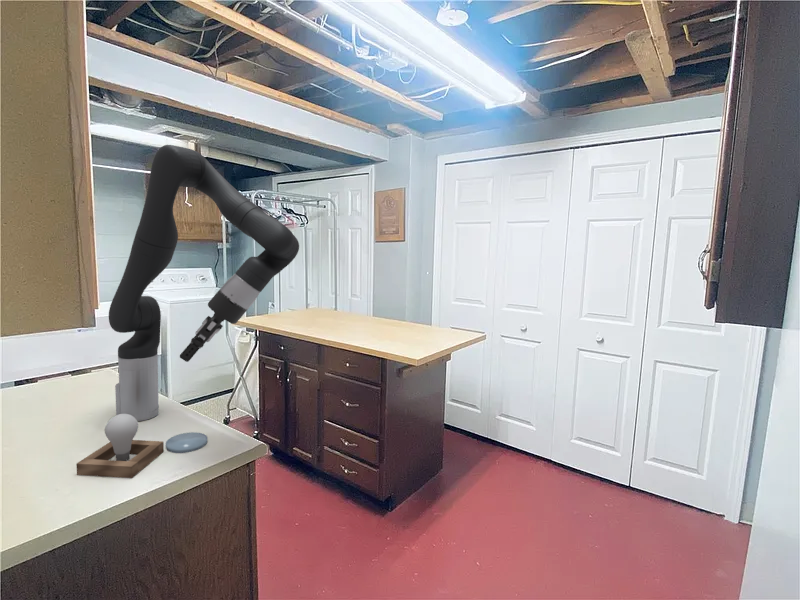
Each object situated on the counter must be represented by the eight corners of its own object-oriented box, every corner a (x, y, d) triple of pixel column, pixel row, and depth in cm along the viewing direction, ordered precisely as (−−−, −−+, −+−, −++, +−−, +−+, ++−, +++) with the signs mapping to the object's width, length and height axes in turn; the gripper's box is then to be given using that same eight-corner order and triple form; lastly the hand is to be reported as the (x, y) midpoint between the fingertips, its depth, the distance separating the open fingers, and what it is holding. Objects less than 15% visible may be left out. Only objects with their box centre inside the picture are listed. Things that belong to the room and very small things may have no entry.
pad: (157, 451, 99) (157, 447, 99) (178, 435, 108) (178, 431, 108) (196, 454, 99) (196, 449, 99) (213, 437, 108) (213, 433, 108)
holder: (76, 475, 88) (76, 463, 88) (114, 449, 100) (114, 438, 99) (132, 478, 88) (131, 466, 88) (163, 451, 99) (163, 441, 99)
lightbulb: (144, 461, 95) (143, 413, 94) (115, 472, 90) (113, 422, 88) (129, 453, 98) (128, 407, 97) (100, 464, 93) (98, 415, 91)
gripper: (223, 286, 103) (178, 340, 101) (217, 289, 89) (164, 351, 87) (249, 305, 105) (205, 358, 103) (247, 311, 92) (196, 372, 89)
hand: (186, 355), depth 95 cm, fingers open, 8 cm apart
